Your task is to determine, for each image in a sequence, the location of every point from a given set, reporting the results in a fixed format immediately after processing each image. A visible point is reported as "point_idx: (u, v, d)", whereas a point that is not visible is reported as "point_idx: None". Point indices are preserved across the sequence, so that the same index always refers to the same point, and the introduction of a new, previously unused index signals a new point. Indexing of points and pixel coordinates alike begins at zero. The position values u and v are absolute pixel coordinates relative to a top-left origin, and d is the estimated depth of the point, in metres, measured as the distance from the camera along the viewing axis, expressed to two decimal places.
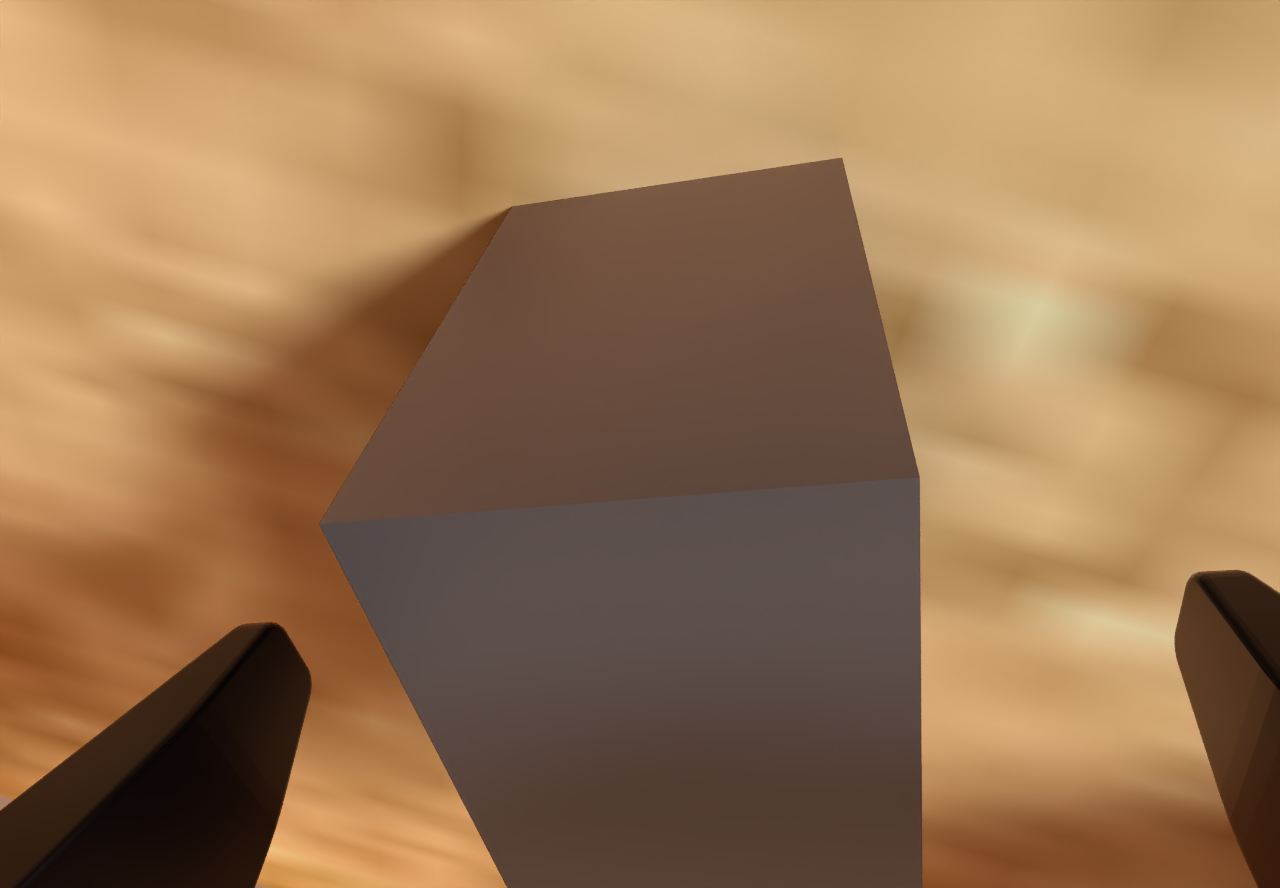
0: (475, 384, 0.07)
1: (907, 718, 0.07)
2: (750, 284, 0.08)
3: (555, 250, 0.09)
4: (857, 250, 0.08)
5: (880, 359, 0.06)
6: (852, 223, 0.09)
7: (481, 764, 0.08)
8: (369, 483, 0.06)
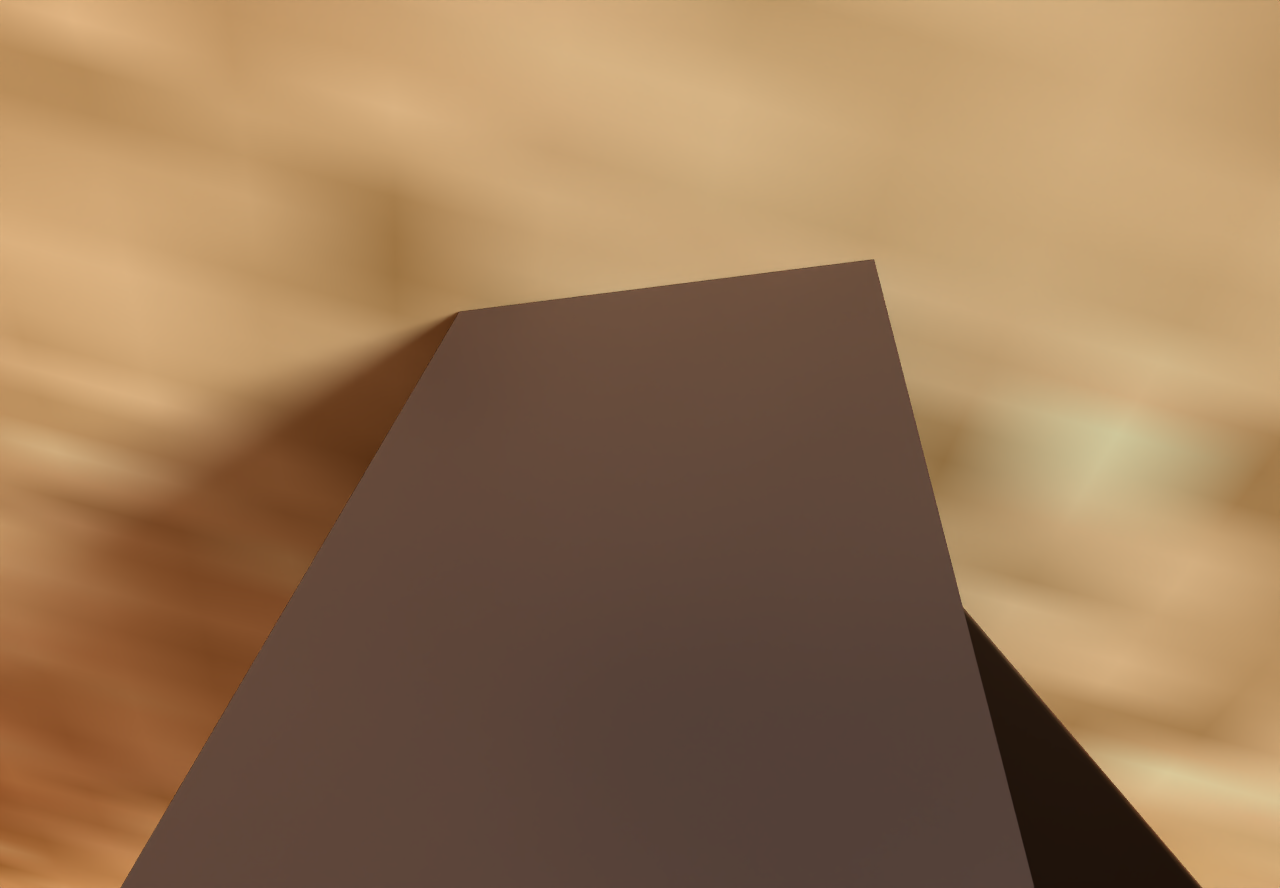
0: (367, 645, 0.05)
1: None
2: (759, 481, 0.06)
3: (503, 391, 0.07)
4: (906, 426, 0.06)
5: (959, 656, 0.04)
6: (896, 376, 0.06)
7: None
8: (182, 850, 0.04)
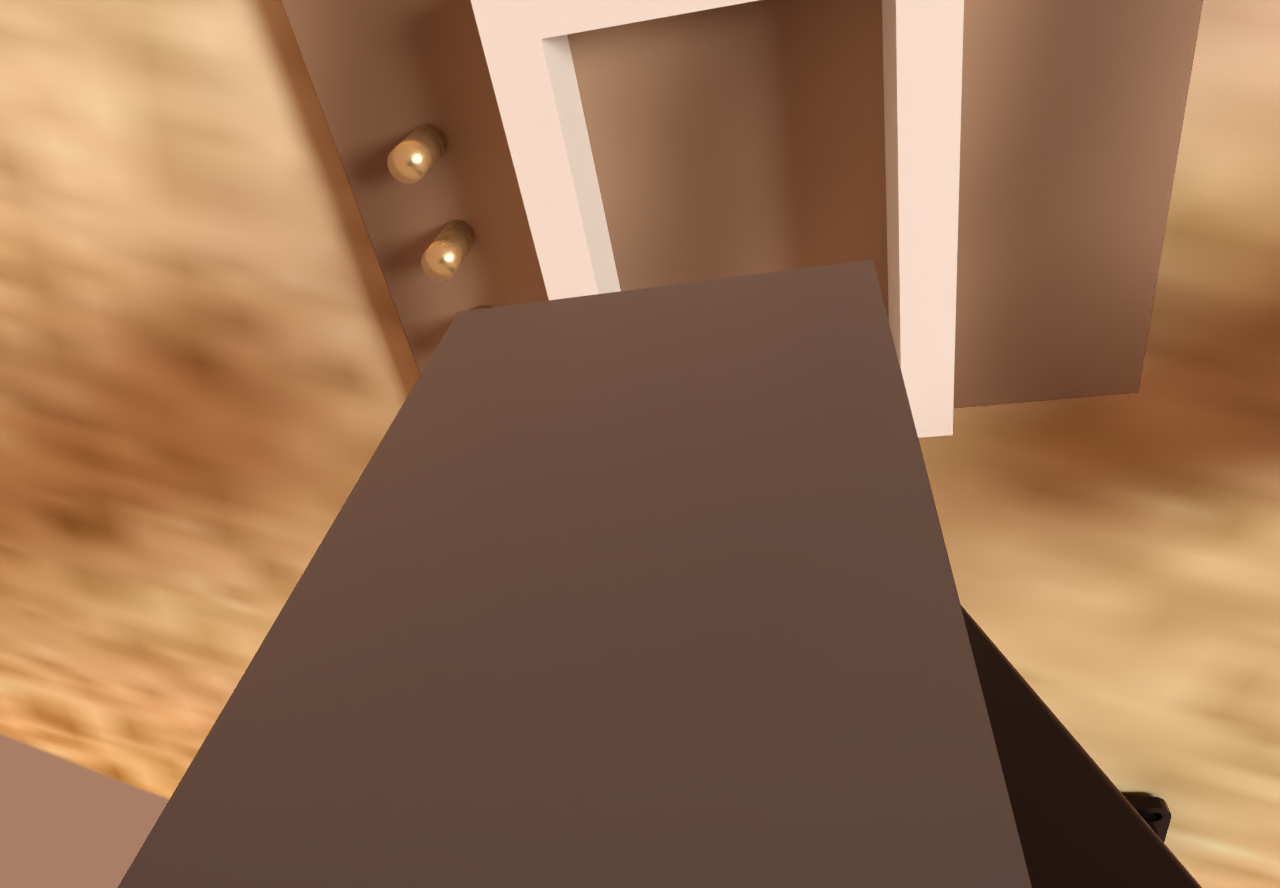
0: (367, 646, 0.05)
1: None
2: (760, 481, 0.06)
3: (501, 391, 0.07)
4: (905, 426, 0.06)
5: (957, 657, 0.04)
6: (895, 376, 0.06)
7: None
8: (179, 851, 0.04)
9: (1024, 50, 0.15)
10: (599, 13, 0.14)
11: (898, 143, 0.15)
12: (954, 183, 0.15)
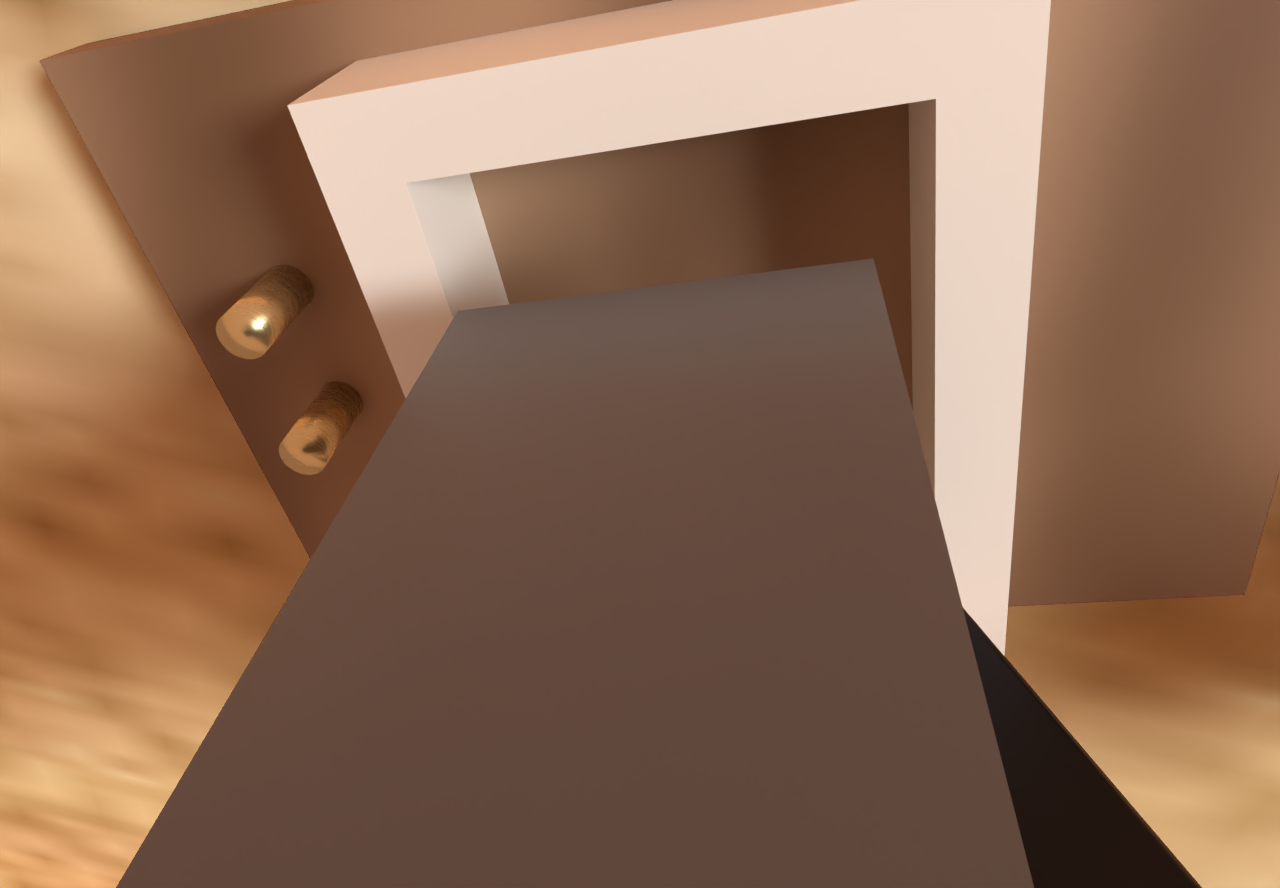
0: (364, 645, 0.05)
1: None
2: (760, 479, 0.06)
3: (502, 390, 0.07)
4: (906, 425, 0.06)
5: (958, 656, 0.04)
6: (895, 375, 0.06)
7: None
8: (177, 851, 0.04)
9: (1113, 178, 0.11)
10: (488, 149, 0.09)
11: (936, 325, 0.10)
12: (1017, 378, 0.10)
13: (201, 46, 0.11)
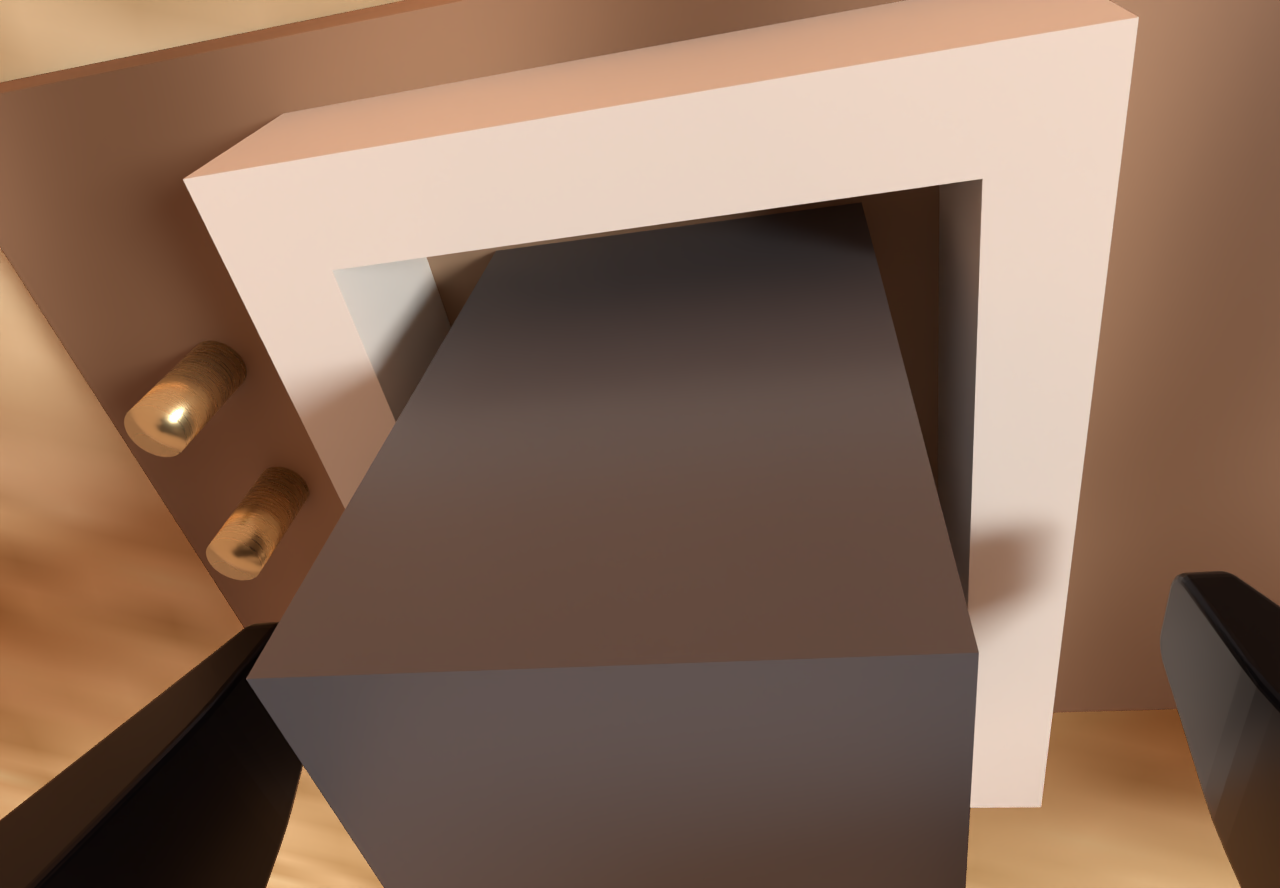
0: (444, 487, 0.06)
1: None
2: (762, 366, 0.07)
3: (540, 309, 0.08)
4: (885, 324, 0.07)
5: (920, 475, 0.05)
6: (877, 288, 0.07)
7: None
8: (310, 622, 0.05)
9: (1181, 253, 0.09)
10: (429, 232, 0.08)
11: (974, 438, 0.08)
12: (1070, 499, 0.09)
13: (99, 95, 0.09)
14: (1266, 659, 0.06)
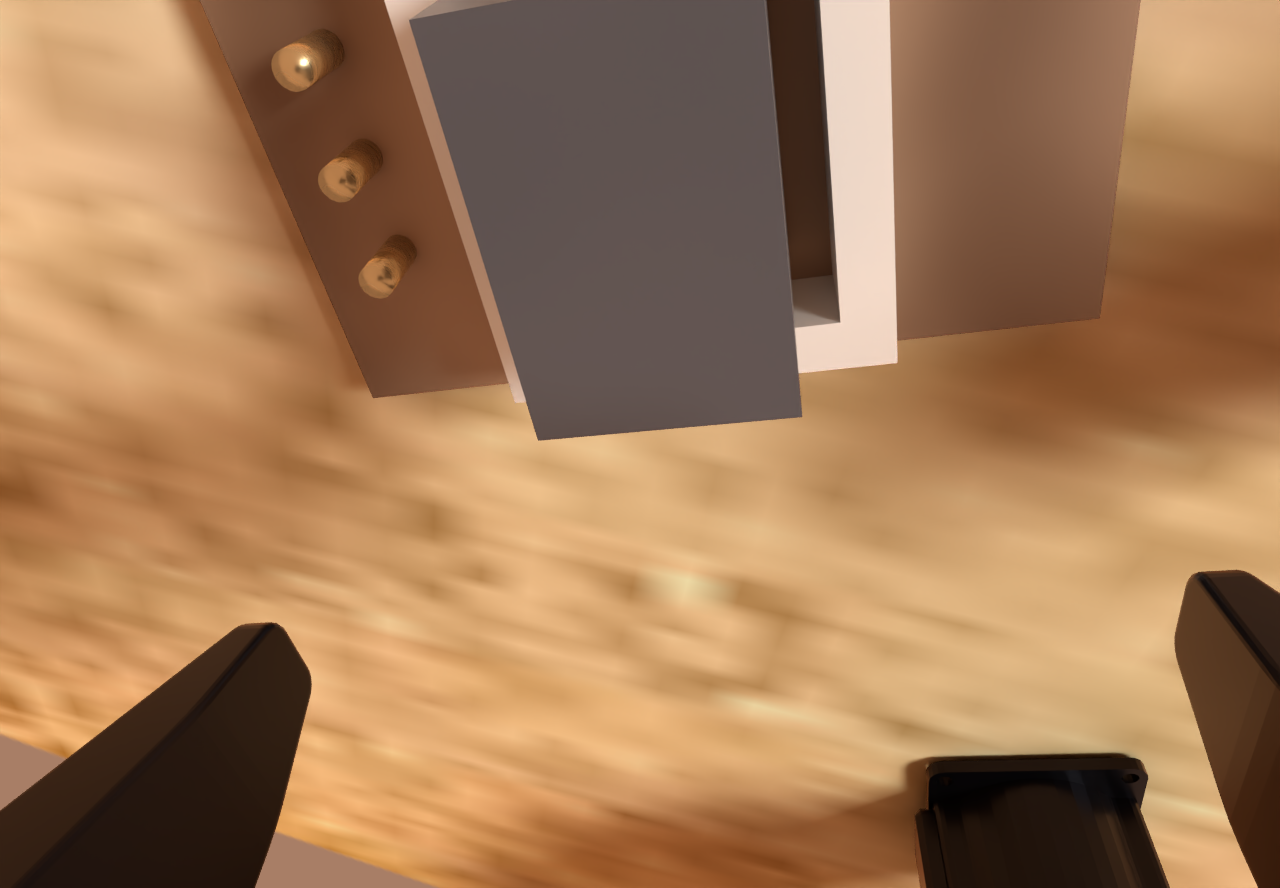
0: None
1: (771, 169, 0.11)
2: None
3: None
4: None
5: None
6: None
7: (503, 242, 0.12)
8: (437, 9, 0.10)
9: None
10: None
11: (822, 28, 0.13)
12: (885, 73, 0.14)
13: None
14: None
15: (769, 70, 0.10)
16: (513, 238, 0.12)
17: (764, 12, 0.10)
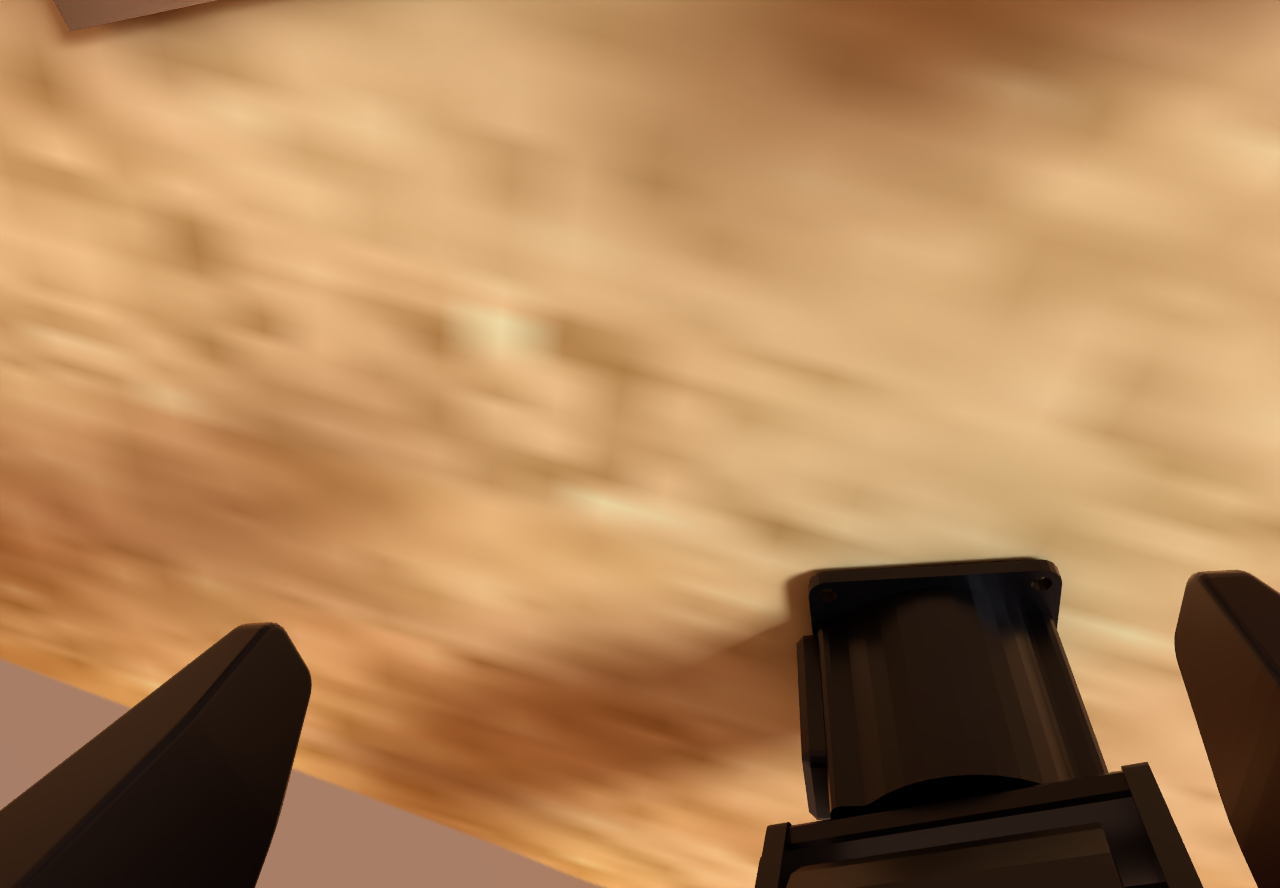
0: None
1: None
2: None
3: None
4: None
5: None
6: None
7: None
8: None
9: None
10: None
11: None
12: None
13: None
14: None
15: None
16: None
17: None
